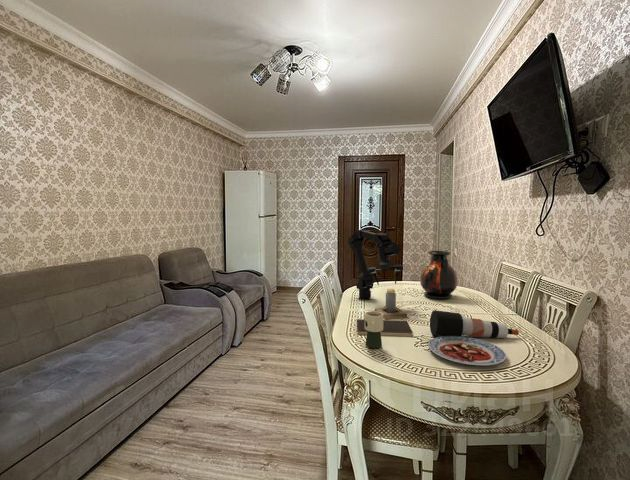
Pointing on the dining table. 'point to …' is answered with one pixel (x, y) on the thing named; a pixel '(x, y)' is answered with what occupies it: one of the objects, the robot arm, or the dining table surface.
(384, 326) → the hardcover book
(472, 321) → the black white tapered cylinder
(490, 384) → the dining table surface
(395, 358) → the dining table surface
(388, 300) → the grey and tan cylinder
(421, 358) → the dining table surface
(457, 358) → the ceramic plate
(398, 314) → the brown square frame
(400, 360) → the dining table surface
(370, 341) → the character mug
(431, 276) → the dark orange vase
